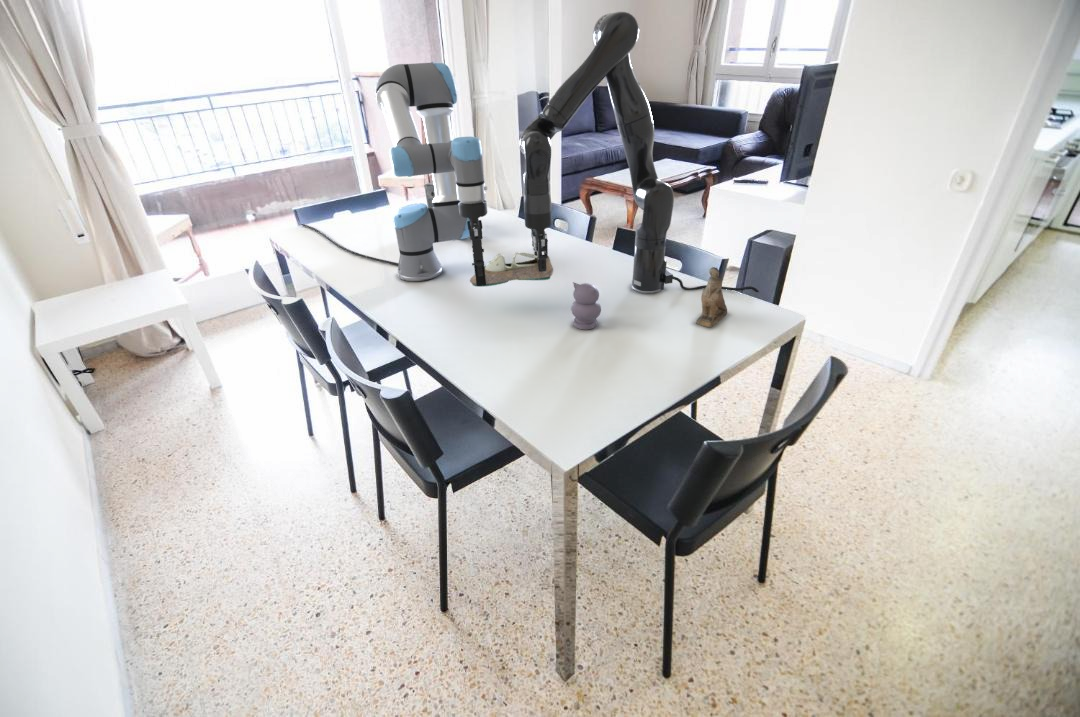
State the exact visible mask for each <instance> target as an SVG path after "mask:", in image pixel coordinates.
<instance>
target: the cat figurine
mask: <svg viewBox="0 0 1080 717" xmlns="http://www.w3.org/2000/svg"><path fill="white" fill-rule="evenodd" d="M572 284H573V288H574V290H573V298H574V301H573V302H572V304H571V306H570V312H571V314H572V316H573V317H574V318H573V326H574V327H575V328H577V329H578V330H579V329H580V330H585V331H586V330H592V329H594V328H596V327H597V324H598V319H597V318H598V317H600V315H601V312H602V307H601V304H600V303H599V302H598V300H599V298H600V291H599V290H598V287H596V286H595V285H593V284H591V283H589V282H588V283H587V282H583V283H580V284H579V283H577V282H575V281H573V282H572Z"/></svg>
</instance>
